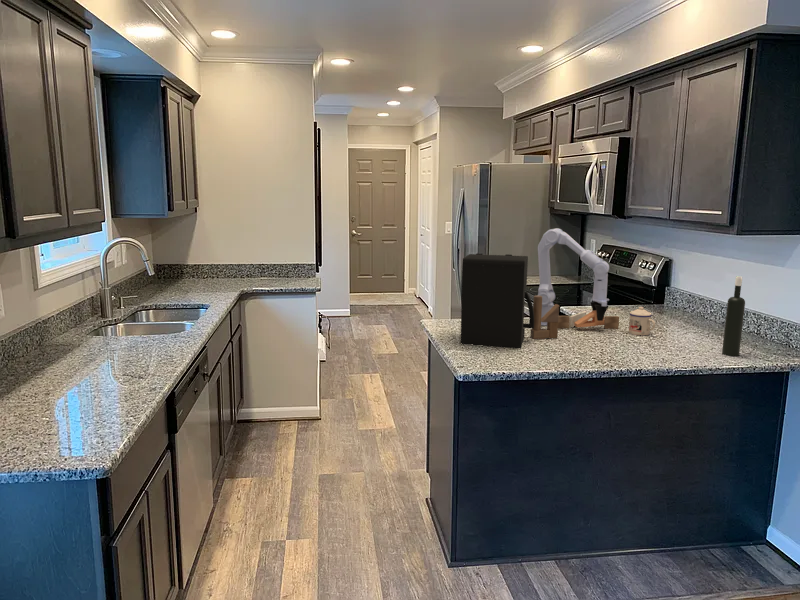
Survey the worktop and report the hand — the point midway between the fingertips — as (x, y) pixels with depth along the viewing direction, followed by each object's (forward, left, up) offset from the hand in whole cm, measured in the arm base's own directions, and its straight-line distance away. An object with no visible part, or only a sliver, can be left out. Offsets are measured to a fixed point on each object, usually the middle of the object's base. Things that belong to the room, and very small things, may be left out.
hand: (598, 319), depth 266 cm
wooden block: (-27, -15, -5) cm, 31 cm away
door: (-6, +9, -5) cm, 12 cm away
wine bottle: (+39, -38, -5) cm, 55 cm away
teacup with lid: (+17, -7, -5) cm, 19 cm away
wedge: (-4, 0, -3) cm, 5 cm away
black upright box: (-47, -21, -5) cm, 52 cm away
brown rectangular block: (-4, +3, -5) cm, 7 cm away
